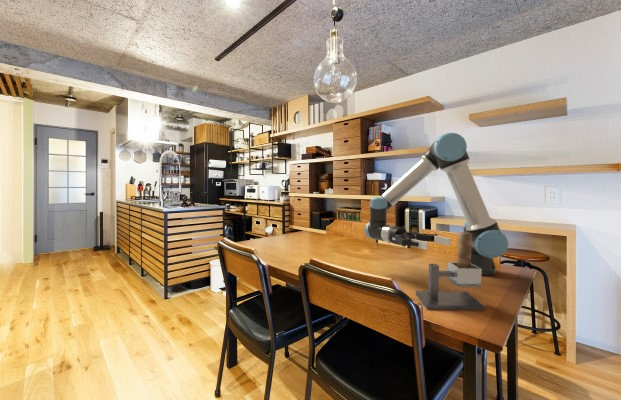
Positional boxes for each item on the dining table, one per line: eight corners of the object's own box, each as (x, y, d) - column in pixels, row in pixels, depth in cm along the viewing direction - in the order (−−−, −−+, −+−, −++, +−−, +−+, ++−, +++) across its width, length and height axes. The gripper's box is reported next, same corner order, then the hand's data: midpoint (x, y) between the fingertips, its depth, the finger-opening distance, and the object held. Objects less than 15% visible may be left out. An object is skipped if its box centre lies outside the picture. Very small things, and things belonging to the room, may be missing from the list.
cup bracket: (466, 295, 103) (467, 260, 102) (484, 310, 91) (486, 271, 90) (415, 294, 104) (416, 259, 103) (426, 309, 92) (427, 269, 91)
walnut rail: (466, 277, 98) (468, 232, 97) (472, 281, 94) (474, 234, 93) (454, 277, 99) (456, 232, 98) (460, 281, 95) (461, 234, 94)
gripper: (413, 240, 129) (458, 249, 111) (372, 246, 116) (416, 258, 98) (413, 224, 128) (459, 230, 110) (373, 228, 115) (416, 237, 97)
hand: (439, 244), depth 104 cm, fingers open, 13 cm apart
